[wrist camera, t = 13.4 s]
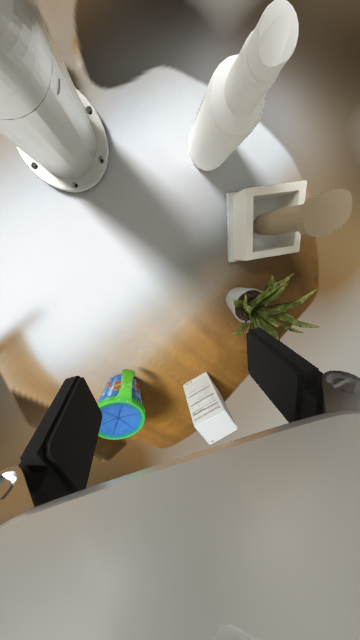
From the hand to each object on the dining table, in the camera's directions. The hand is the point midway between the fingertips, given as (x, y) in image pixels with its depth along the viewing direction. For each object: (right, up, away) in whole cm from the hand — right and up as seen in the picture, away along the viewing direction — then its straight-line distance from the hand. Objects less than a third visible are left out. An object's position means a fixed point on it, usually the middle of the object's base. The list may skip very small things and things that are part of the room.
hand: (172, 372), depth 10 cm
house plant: (+14, +7, +32) cm, 36 cm away
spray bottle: (+5, +32, +20) cm, 38 cm away
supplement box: (+6, -15, +39) cm, 43 cm away
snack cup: (-13, -13, +35) cm, 40 cm away
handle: (+16, +21, +26) cm, 37 cm away
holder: (+16, +22, +26) cm, 37 cm away
